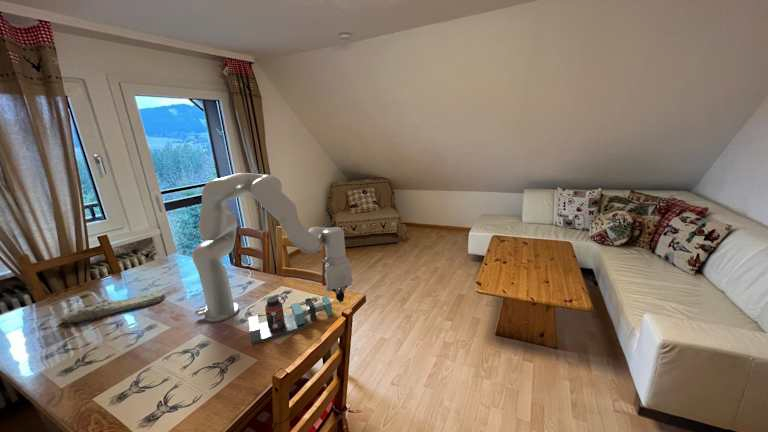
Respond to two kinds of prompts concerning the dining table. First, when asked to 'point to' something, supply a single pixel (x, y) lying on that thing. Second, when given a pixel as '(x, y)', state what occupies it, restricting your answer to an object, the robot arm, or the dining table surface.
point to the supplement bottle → (274, 313)
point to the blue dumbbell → (301, 312)
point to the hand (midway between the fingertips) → (340, 300)
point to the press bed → (264, 334)
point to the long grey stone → (111, 307)
